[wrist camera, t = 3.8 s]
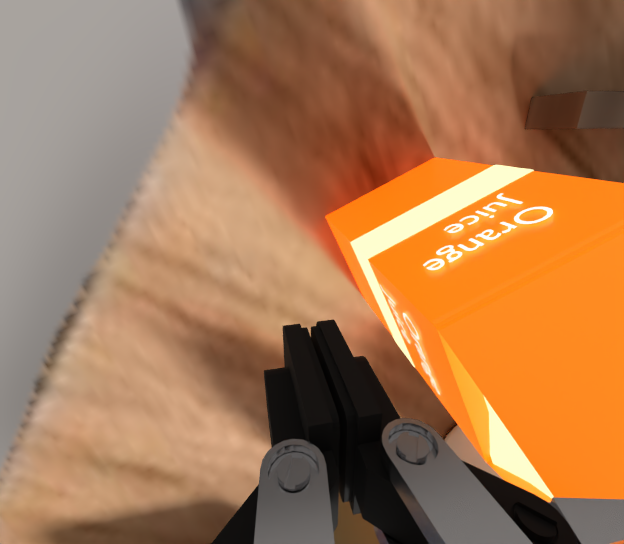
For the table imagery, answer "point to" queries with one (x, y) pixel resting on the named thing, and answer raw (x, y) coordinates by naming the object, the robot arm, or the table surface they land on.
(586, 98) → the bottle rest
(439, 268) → the orange juice
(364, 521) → the squeeze bottle
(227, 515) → the table surface
